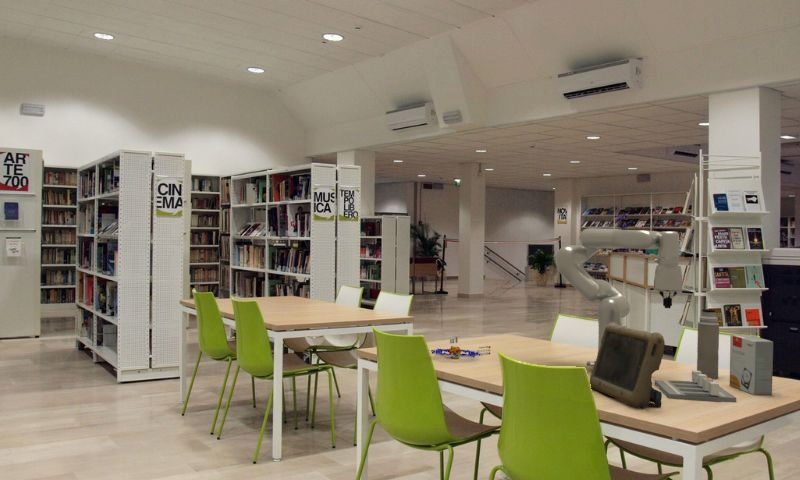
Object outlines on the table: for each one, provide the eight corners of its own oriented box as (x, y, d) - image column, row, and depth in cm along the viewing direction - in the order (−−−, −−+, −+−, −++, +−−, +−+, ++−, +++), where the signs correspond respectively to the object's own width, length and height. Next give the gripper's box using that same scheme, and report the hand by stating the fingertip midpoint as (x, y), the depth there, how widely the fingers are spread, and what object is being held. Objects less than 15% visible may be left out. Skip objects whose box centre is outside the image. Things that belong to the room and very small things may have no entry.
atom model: (472, 352, 325) (473, 331, 325) (509, 360, 304) (510, 337, 304) (416, 355, 304) (417, 333, 305) (452, 364, 283) (453, 340, 284)
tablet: (581, 388, 244) (582, 321, 244) (613, 386, 248) (614, 320, 248) (636, 410, 213) (638, 333, 213) (672, 408, 217) (673, 332, 217)
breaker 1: (694, 382, 249) (694, 371, 249) (691, 380, 252) (692, 370, 252) (701, 382, 248) (701, 372, 248) (699, 381, 251) (699, 370, 251)
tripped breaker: (705, 390, 235) (705, 379, 235) (702, 388, 238) (702, 377, 238) (712, 391, 234) (713, 379, 234) (710, 389, 238) (710, 377, 238)
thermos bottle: (715, 375, 273) (716, 308, 273) (720, 379, 265) (721, 310, 265) (694, 374, 274) (696, 308, 274) (699, 378, 266) (700, 310, 266)
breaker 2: (711, 395, 228) (711, 383, 228) (708, 393, 231) (708, 381, 231) (719, 395, 228) (719, 384, 228) (716, 393, 231) (716, 382, 231)
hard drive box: (728, 385, 254) (729, 334, 254) (747, 385, 254) (748, 334, 254) (753, 395, 238) (754, 340, 238) (773, 395, 239) (774, 340, 239)
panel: (669, 398, 230) (670, 394, 230) (654, 383, 254) (654, 379, 254) (736, 402, 226) (736, 397, 226) (714, 386, 251) (714, 382, 251)
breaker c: (699, 386, 242) (699, 375, 242) (697, 384, 245) (697, 373, 245) (706, 386, 241) (707, 376, 241) (704, 385, 244) (704, 374, 244)
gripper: (650, 261, 258) (649, 308, 258) (690, 262, 256) (689, 309, 256) (646, 261, 266) (645, 306, 266) (685, 262, 263) (684, 307, 263)
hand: (667, 307), depth 261 cm, fingers closed
